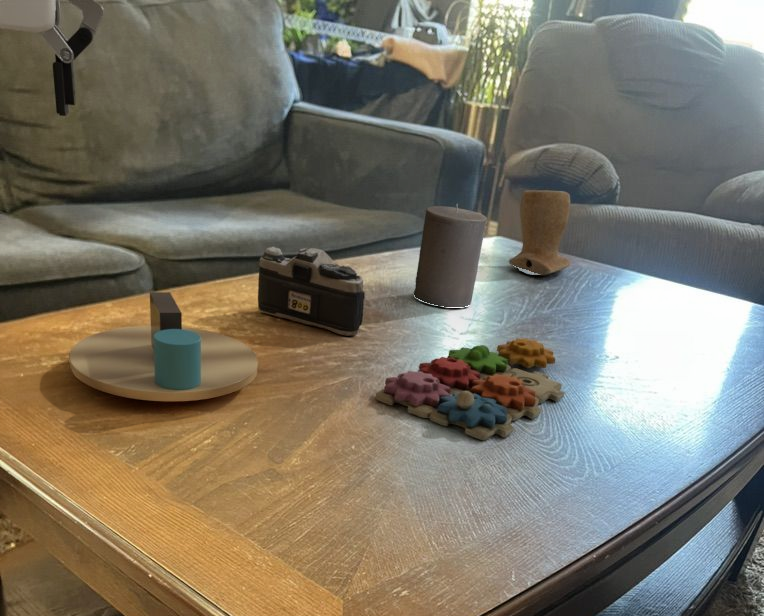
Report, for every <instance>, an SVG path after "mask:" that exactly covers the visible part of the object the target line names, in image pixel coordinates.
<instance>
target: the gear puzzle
mask: <svg viewBox="0 0 764 616" xmlns="http://www.w3.org/2000/svg"><path fill="white" fill-rule="evenodd" d="M555 363H556V357H555V356H554V350H550V349H549V348H548V349H547V348H545V347H544V343H542V342H538V341H537V340H536V339H529V338H519V337H518V338H516V339H512V340H511V341H510V340H509V341H506V343H503V344H498V345H497V347H496V352H494V351H490V349H489V347H488V346H486V345H484V344H480V345H475V346H473V347H472V348H469V347H460V349H450V350H449V351H448V355H447V356H446V357H445V356H441V357H440V358H434V359H432V360H431V362H420V363H419V364H418V370H417V371H413V370H408V371H406V372H402V373H398V375H397V376H393V377H392V376H391V377H386V378H385V381H384V384H385V385H384V387H383V389H381V390H378V391H376V393H375V400H376V401H379V402H381V403H383V404H385V405H388V406H391V407H392V406H393V405H394V404H400V405H403V406H405V407H407V412H408V413H409V414H411V415H414V416H417V417H419V418H423V419H429V420H430V422H432V423H436V424H438V425H440V426H443V427H448V426H449V424H450V425H451V424H452V425H455V426H458V427H460V428H463V429H464V434H465V435H466V436H470V437H473V438H474V439H477V440H481V441H486V440H488V439H489V438H491V437H493V436H494V435H498V436H500V437H502V438H507V437H508V436H510V435H511V434H513V433H514V430H515V426H513V425H512V424H511V423H512V422H514V421H518V420H519V419H521V418H522V417H524V416H525V417H527V418H529V419H531V420H534V419H535V418H537V417H539V416H540V415H541V413H542V408H541V407H539V404H542V403H544V402H545V401H547V400H552V401H554V402H555V403H557V402H559V401H560V400H562V399H564V397H565V391H563V390H562V386H563V384H562V383H561V382H559V381H556V380H553V379H550V376H549V375H548V374H545V373H542V372H539V371H532V372H529V371H525V370H522V369H519V368H516V367H515V368H514V367H513V368H512V367H511V366H510V365H521V366H522V367H524V368H527V369H530V368H532V367H538V368H541V369H546V368H547V366H548V365H553V364H555Z"/></svg>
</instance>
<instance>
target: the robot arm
mask: <svg viewBox="0 0 764 616" xmlns="http://www.w3.org/2000/svg"><path fill="white" fill-rule="evenodd" d="M66 2H68V3H69V4H71V5H72V6H74V7H75V8H77V9H78V10H79V11H80V12H81V13H82V20H81V22H80V25H79V27H78V29H77V30H76V31H75V32H74V33H73V35H72V36H71V37H70V38H69V39H68V38H67V37H66V36H65V34H64V33H63V32H62V31H61V30H60V28H59V25H60V22H61V6H60V0H0V29H2V30H3V29H4V30H10V31H17V32H27V33H38V34H39V35H40V36H41V37H42V39H44V41H45V43H47V45H48V46H49V47H50V48H51V50H52V51H53V52H54V57H55V61H54V62H52V76H53V87H54V99H55V109H56V114H57V115H59V116H60V117H61V116H62V117H67V116H68V114H69V113H70V110H69V109H70V108H69V106H76V100H77V99H76V87H75V74H74V61H75V60H76V59H77V58H78V57H79V56H80V55H81V54H82V53H83V52H84V51H85V50H86V49H87V47H89V45H91V43H93V41H94V38H95V36H96V34H97V32H98V29H99V27H100V25H101V23H102V20H103V18H104V16H105V8H104V6H103V5H102V4H101V3H99V2H97V1H96V0H66Z"/></svg>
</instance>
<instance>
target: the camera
mask: <svg viewBox="0 0 764 616" xmlns="http://www.w3.org/2000/svg"><path fill="white" fill-rule="evenodd" d="M258 266H259V267H258V268H259V269H258V284H257V286H258V287H257V288H258V289H257V307H258V310H259V312H261V313H263V314H267V315H270V316H273V317H277V318H280V319H287V320H289V321H292V322H297V323H300V324H304V325H307V326H314V327H317V328H321V329H325V330H328V331H330V332H333V333H335V334H338V335H341V336H347V337H348V336H349V337H350V336H353V337H354V336H356V335H357V334H358V332H359V330H360V327H361V326H362V324H363V317H364V306H365V304H364V302H365V294H366V293H365V290H364V281H365V279H364V278H363V277H362V276H360V275H358V273H357V272H356V270H355V269H354V268H352V267H351V266H349V265H339V264H338V263H335V261H334V260H333V259H332V258H331V257H330V255H329V254H328V253H326V252H325V251H324V250H323V249H320V248H315V247H310V248H306V247H305V248H300V249H299V251H298V253H297V255H296V256H294V257H292V258H289V257H285V256H284V254H283V252H282V250H281V249H280V248H279V247H275V246H273V245H272V246H270V247H267V248H266V249H265V251H264V253H263V255H262V256H261V257H260V258H259V265H258Z"/></svg>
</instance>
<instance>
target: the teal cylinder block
mask: <svg viewBox="0 0 764 616" xmlns="http://www.w3.org/2000/svg"><path fill="white" fill-rule="evenodd" d="M153 338H154V370H155V382H156V384H157V385H159V386H161V387H163V388H167V389H172V390H187V389H192V388H195V387H197V386H199V385H200V383H201V337H200V335H198V334H197V333H195V332H192V331H188V330H183V329H167V330H161V331H158V332H156V333H155V334H154V336H153Z"/></svg>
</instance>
